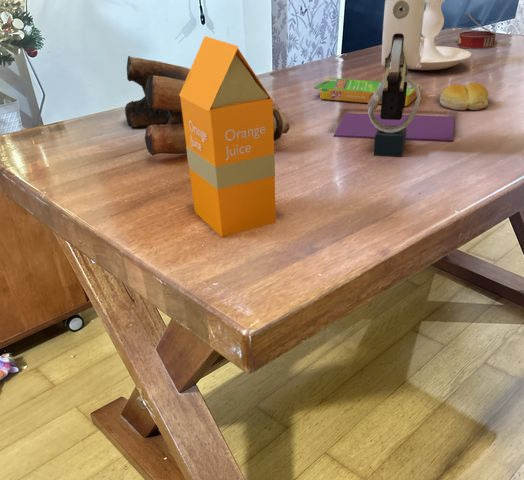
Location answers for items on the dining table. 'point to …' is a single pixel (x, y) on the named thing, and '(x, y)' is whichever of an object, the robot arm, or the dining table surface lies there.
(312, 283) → the dining table surface
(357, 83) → the game box
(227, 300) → the dining table surface
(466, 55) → the candlestick
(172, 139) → the stacked firewood logs
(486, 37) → the canned food
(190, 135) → the orange juice
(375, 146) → the watch
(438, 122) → the cloth
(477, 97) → the bread roll
